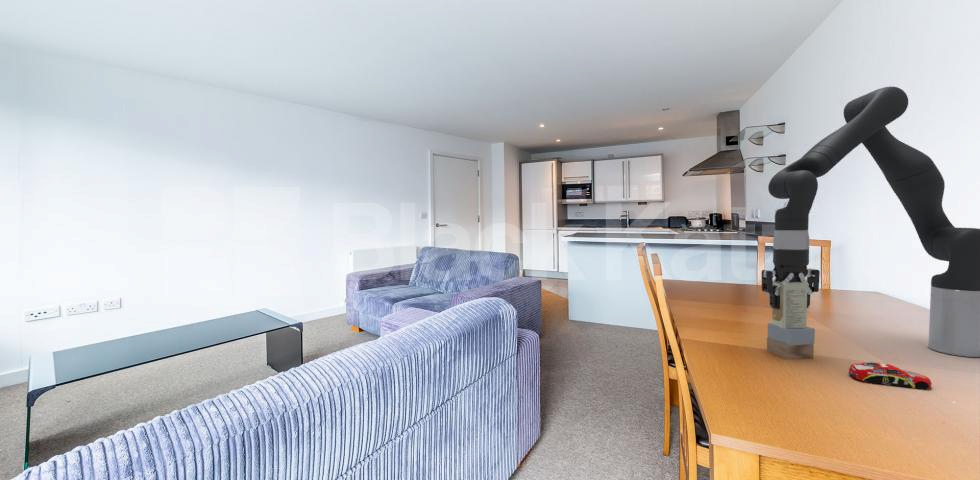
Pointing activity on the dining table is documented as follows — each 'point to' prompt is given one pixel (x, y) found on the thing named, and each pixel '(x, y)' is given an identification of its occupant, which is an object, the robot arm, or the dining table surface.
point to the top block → (791, 335)
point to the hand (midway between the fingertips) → (789, 308)
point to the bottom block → (790, 350)
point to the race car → (888, 375)
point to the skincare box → (791, 306)
